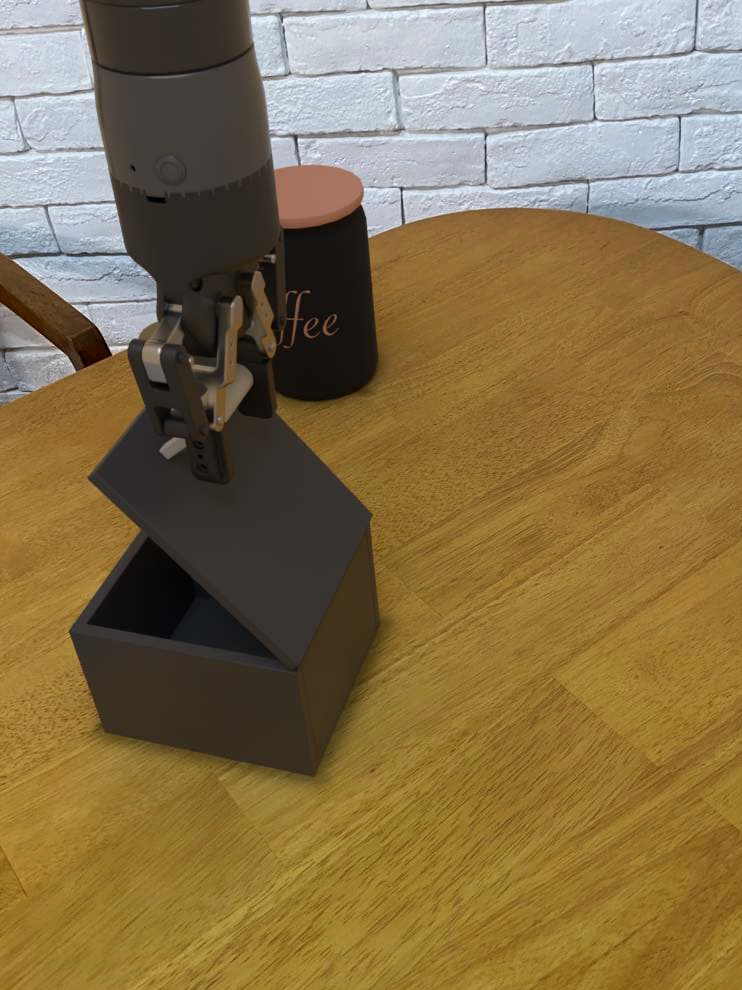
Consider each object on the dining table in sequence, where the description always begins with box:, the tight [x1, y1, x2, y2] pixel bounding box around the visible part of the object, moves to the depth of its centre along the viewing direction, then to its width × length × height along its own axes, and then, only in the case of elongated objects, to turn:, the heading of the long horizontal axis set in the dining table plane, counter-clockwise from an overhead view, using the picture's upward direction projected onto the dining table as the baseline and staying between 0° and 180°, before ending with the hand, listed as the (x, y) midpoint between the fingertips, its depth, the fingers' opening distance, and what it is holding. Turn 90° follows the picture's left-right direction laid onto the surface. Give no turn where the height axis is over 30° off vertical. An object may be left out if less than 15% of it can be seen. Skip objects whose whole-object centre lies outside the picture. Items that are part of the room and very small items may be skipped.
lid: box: [87, 354, 374, 669], centre depth 64 cm, size 16×14×5 cm
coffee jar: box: [264, 164, 379, 402], centre depth 99 cm, size 11×11×18 cm
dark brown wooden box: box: [68, 523, 381, 778], centre depth 74 cm, size 15×14×10 cm
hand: (236, 444), depth 63 cm, fingers closed on lid, 5 cm apart
